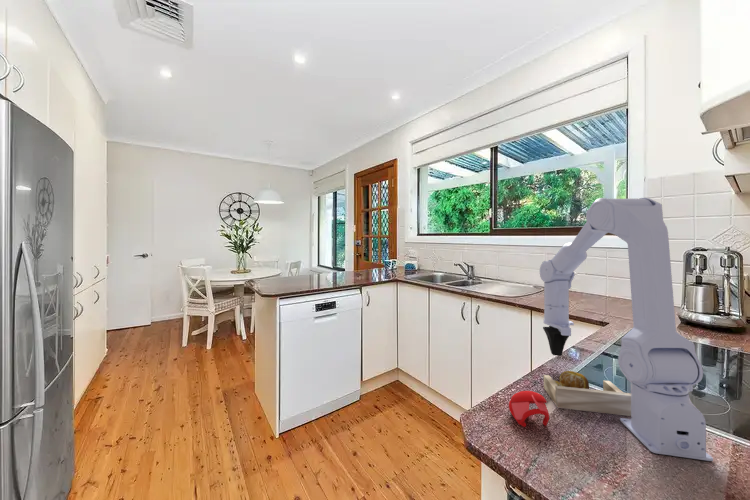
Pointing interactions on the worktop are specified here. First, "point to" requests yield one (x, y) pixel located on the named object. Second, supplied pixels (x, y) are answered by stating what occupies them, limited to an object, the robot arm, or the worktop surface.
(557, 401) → the holder
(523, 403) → the red toy helmet
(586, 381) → the fruit
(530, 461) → the worktop surface
